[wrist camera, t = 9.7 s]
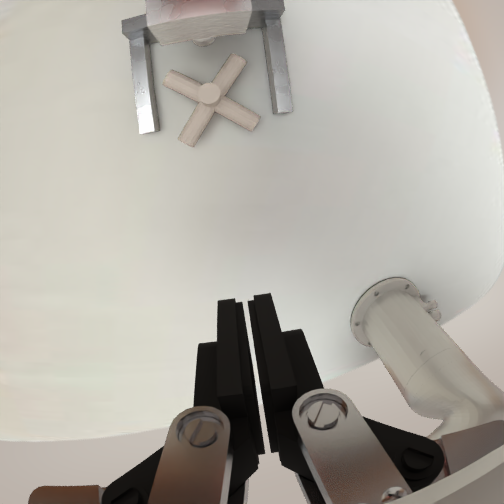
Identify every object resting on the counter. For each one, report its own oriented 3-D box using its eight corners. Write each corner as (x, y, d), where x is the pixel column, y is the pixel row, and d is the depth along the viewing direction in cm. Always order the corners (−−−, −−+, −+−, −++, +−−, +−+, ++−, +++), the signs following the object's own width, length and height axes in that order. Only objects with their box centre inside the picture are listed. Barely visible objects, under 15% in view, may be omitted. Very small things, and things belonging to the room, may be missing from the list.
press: (268, -15, 26) (320, -128, 5) (286, 112, 32) (382, 96, 12) (133, 5, 25) (57, -90, 5) (146, 133, 32) (46, 146, 11)
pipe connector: (274, 89, 31) (293, 75, 22) (228, 161, 34) (230, 173, 25) (198, 48, 28) (189, 20, 19) (153, 121, 31) (127, 119, 22)
